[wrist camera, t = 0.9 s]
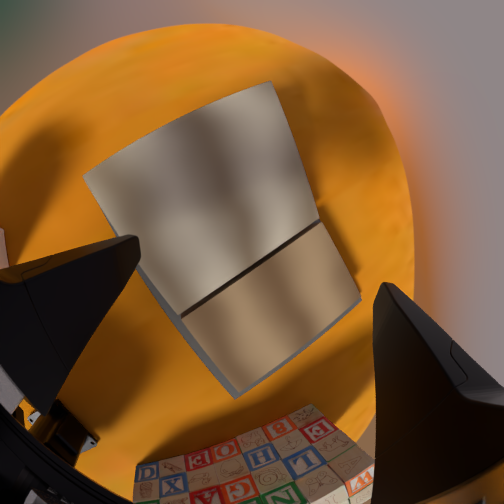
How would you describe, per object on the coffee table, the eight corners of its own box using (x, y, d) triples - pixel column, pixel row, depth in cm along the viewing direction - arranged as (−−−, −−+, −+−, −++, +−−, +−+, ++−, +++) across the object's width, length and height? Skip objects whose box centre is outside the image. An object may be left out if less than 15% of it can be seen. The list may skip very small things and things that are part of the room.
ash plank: (171, 301, 21) (177, 315, 20) (86, 173, 15) (82, 175, 13) (305, 212, 24) (319, 217, 23) (257, 85, 18) (270, 80, 16)
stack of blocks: (162, 493, 21) (169, 568, 9) (134, 464, 21) (129, 546, 9) (323, 435, 26) (381, 493, 15) (312, 401, 26) (379, 462, 14)
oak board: (234, 382, 23) (238, 392, 21) (180, 313, 22) (180, 319, 20) (349, 293, 26) (361, 296, 24) (311, 224, 25) (321, 221, 23)
